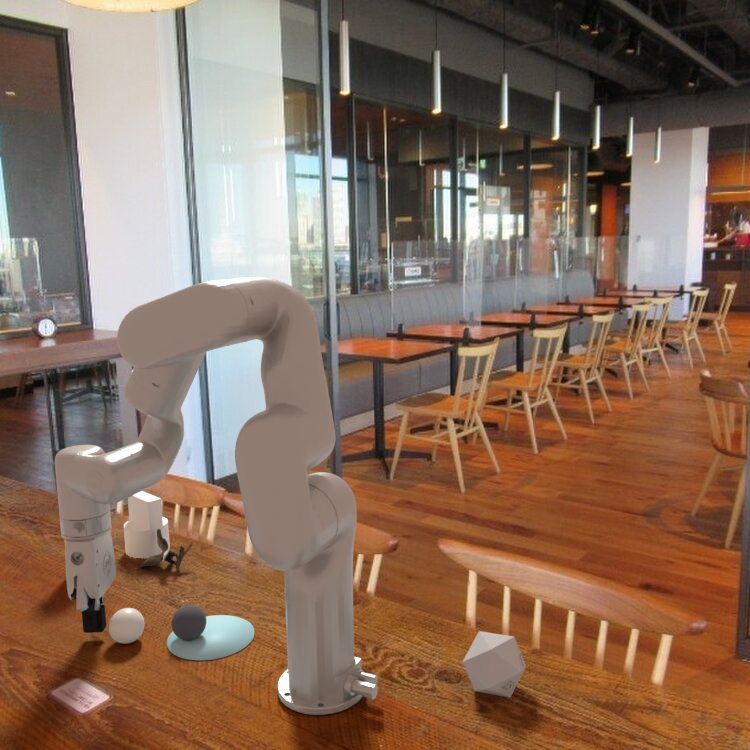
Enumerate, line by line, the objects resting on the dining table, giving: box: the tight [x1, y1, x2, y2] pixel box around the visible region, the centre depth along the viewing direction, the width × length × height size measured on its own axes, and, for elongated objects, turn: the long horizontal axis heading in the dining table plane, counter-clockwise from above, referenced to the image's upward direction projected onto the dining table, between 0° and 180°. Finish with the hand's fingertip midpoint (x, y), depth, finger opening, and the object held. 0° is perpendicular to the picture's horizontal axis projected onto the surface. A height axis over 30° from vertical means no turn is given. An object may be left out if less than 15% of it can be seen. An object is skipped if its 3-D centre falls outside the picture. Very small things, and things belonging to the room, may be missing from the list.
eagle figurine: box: [139, 529, 194, 572], centre depth 147 cm, size 8×8×10 cm
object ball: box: [171, 604, 206, 640], centre depth 120 cm, size 6×6×6 cm
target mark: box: [166, 614, 256, 661], centre depth 120 cm, size 14×14×1 cm
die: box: [462, 630, 527, 699], centre depth 104 cm, size 8×9×10 cm
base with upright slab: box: [123, 490, 171, 559], centre depth 155 cm, size 9×9×12 cm
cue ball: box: [108, 607, 145, 645], centre depth 119 cm, size 6×6×6 cm
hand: (95, 629), depth 120 cm, fingers closed
